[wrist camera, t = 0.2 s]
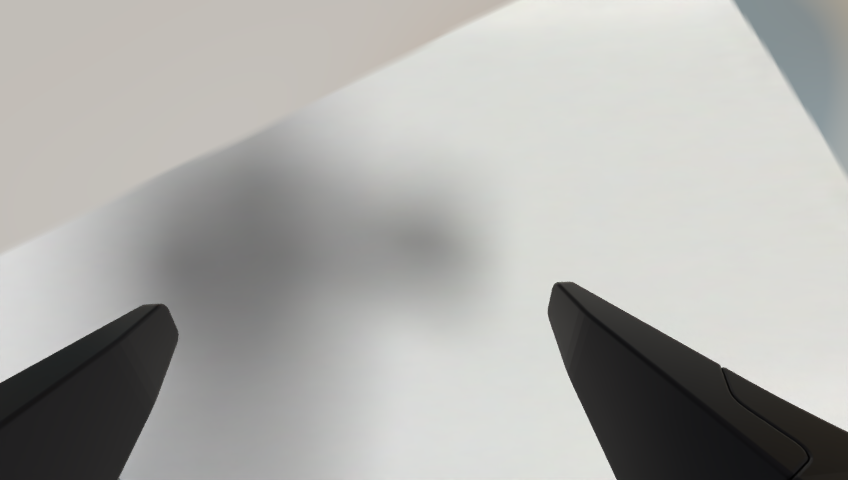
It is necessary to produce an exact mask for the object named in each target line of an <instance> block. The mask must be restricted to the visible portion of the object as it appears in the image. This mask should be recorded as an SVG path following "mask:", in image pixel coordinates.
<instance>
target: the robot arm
mask: <svg viewBox="0 0 848 480" xmlns="http://www.w3.org/2000/svg"><path fill="white" fill-rule="evenodd" d="M548 317H549V321H550V324H551V327H552V330H553V332H554V335H555V338H556V341H557V344H558V347H559V350H560V353H561V356H562V359H563V362H564V365H565V368H566V370H567V373H568V376H569V378H570V380H571V382H572V385H573V387H574V389H575V391H576V393H577V395H578V398H579V400H580V402H581V404H582V406H583V408H584V410H585V413H586V415H587V417H588V419H589V421H590V423H591V425H592V428H593V430H594V432H595V434H596V436H597V438H598V440H599V443H600V445H601V447H602V449H603V451H604V453H605V456H606V458H607V460H608V462H609V464H610V466H611V468H612V471H613V473H614V475H615V477H616V479H617V480H848V432H846V431H844V430H842V429H840V428H838V427H836V426H834V425H832V424H830V423H828V422H826V421H824V420H822V419H820V418H818V417H816V416H814V415H813V414H811V413H809V412H807V411H805V410H803V409H801V408H799V407H797V406H795V405H793V404H791V403H789V402H787V401H785V400H783V399H781V398H779V397H777V396H775V395H774V394H772V393H770V392H768V391H766V390H764V389H763V388H761V387H759V386H757V385H755V384H753V383H752V382H750V381H748V380H746V379H744V378H742V377H741V376H739V375H737V374H735V373H734V372H732V371H730V370H728V369H727V368H724V367H723V368H721V366H720V365H719V364H718V363H716V362H714V361H712V360H710V359H709V358H707V357H705V356H703V355H702V354H700V353H698V352H696V351H694V350H693V349H691V348H689V347H687V346H685V345H684V344H682V343H680V342H678V341H677V340H675V339H673V338H671V337H669V336H668V335H666V334H664V333H662V332H661V331H659V330H657V329H655V328H653V327H652V326H650V325H648V324H646V323H645V322H643V321H641V320H639V319H637V318H636V317H634V316H632V315H630V314H629V313H627V312H625V311H623V310H621V309H620V308H618V307H616V306H614V305H613V304H611V303H609V302H607V301H605V300H604V299H602V298H600V297H598V296H596V295H595V294H593V293H591V292H589V291H588V290H586V289H584V288H582V287H580V286H579V285H577V284H575V283H573V282H557V283H555V284H554V286H553V288H552V292H551V297H550V301H549V306H548ZM177 342H178V330H177V328H176V325H175V323H174V321H173V318H172V316H171V314H170V312H169V309H168V308H167V307H166V306H165V305H164V304H147V305H142V306H140V307H138V308H136V309H134V310H133V311H131V312H129V313H127V314H125V315H123V316H122V317H120V318H118V319H116V320H114V321H113V322H111V323H109V324H107V325H105V326H103V327H102V328H100V329H98V330H96V331H94V332H92V333H91V334H89V335H87V336H85V337H83V338H82V339H80V340H78V341H76V342H74V343H72V344H71V345H69V346H67V347H65V348H63V349H61V350H60V351H58V352H56V353H54V354H52V355H51V356H49V357H47V358H45V359H43V360H41V361H40V362H38V363H36V364H34V365H32V366H30V367H29V368H27V369H25V370H23V371H21V372H20V373H18V374H16V375H14V376H12V377H10V378H9V379H7V380H5V381H3V382H1V383H0V480H118V478H119V476H120V474H121V472H122V470H123V468H124V466H125V464H126V462H127V460H128V458H129V456H130V454H131V452H132V450H133V448H134V446H135V444H136V441H137V439H138V437H139V435H140V433H141V431H142V429H143V427H144V425H145V423H146V421H147V419H148V417H149V415H150V413H151V410H152V408H153V406H154V404H155V401H156V399H157V396H158V394H159V391H160V389H161V386H162V383H163V380H164V378H165V375H166V372H167V369H168V367H169V364H170V361H171V358H172V356H173V353H174V350H175V347H176V345H177Z"/></svg>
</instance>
